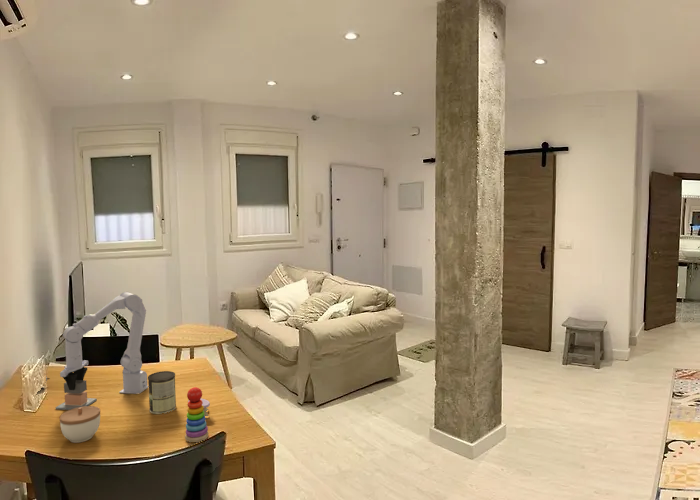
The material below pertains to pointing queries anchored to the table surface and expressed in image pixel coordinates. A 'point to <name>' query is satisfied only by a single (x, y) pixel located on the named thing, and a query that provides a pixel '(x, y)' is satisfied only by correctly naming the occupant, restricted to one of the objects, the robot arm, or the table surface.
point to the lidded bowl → (80, 423)
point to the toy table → (205, 406)
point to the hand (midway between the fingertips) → (75, 387)
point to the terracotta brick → (75, 398)
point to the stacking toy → (195, 417)
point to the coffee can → (162, 392)
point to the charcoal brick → (76, 387)
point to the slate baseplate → (69, 407)
